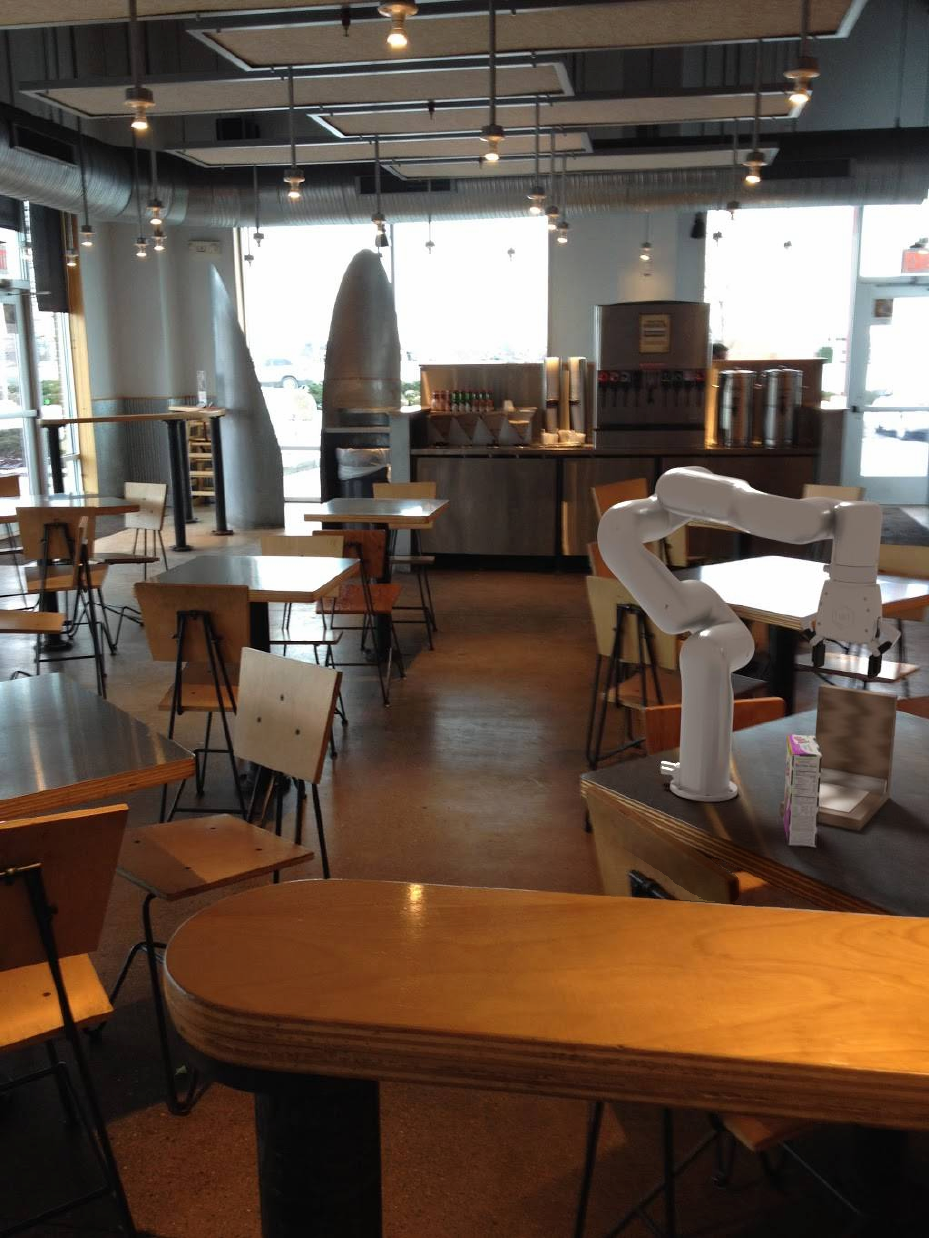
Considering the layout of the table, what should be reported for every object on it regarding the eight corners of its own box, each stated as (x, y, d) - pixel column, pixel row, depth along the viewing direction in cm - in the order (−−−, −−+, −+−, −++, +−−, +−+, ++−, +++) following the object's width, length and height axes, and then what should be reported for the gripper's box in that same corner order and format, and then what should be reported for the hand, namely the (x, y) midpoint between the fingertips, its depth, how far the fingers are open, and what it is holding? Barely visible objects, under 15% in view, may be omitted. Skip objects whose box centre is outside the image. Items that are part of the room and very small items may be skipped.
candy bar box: (780, 822, 196) (786, 733, 193) (810, 824, 195) (816, 734, 192) (785, 846, 185) (792, 752, 182) (817, 848, 184) (823, 754, 181)
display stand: (780, 813, 200) (787, 706, 196) (815, 783, 216) (822, 683, 212) (859, 830, 192) (867, 719, 188) (889, 797, 208) (897, 695, 204)
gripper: (795, 570, 191) (788, 667, 194) (896, 583, 180) (886, 685, 183) (814, 566, 196) (807, 660, 200) (913, 578, 185) (903, 677, 188)
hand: (845, 672), depth 191 cm, fingers open, 9 cm apart
